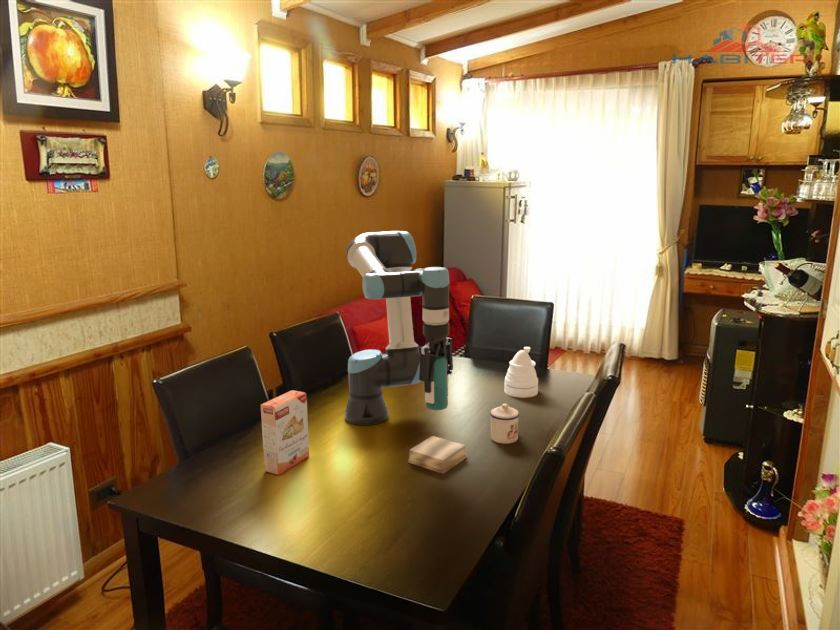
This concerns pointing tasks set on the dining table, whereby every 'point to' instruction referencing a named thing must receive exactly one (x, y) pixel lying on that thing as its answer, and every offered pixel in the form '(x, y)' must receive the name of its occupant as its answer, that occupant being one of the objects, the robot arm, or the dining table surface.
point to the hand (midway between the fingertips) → (436, 398)
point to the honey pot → (521, 376)
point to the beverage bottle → (439, 383)
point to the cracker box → (285, 431)
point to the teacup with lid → (504, 424)
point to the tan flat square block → (437, 454)
